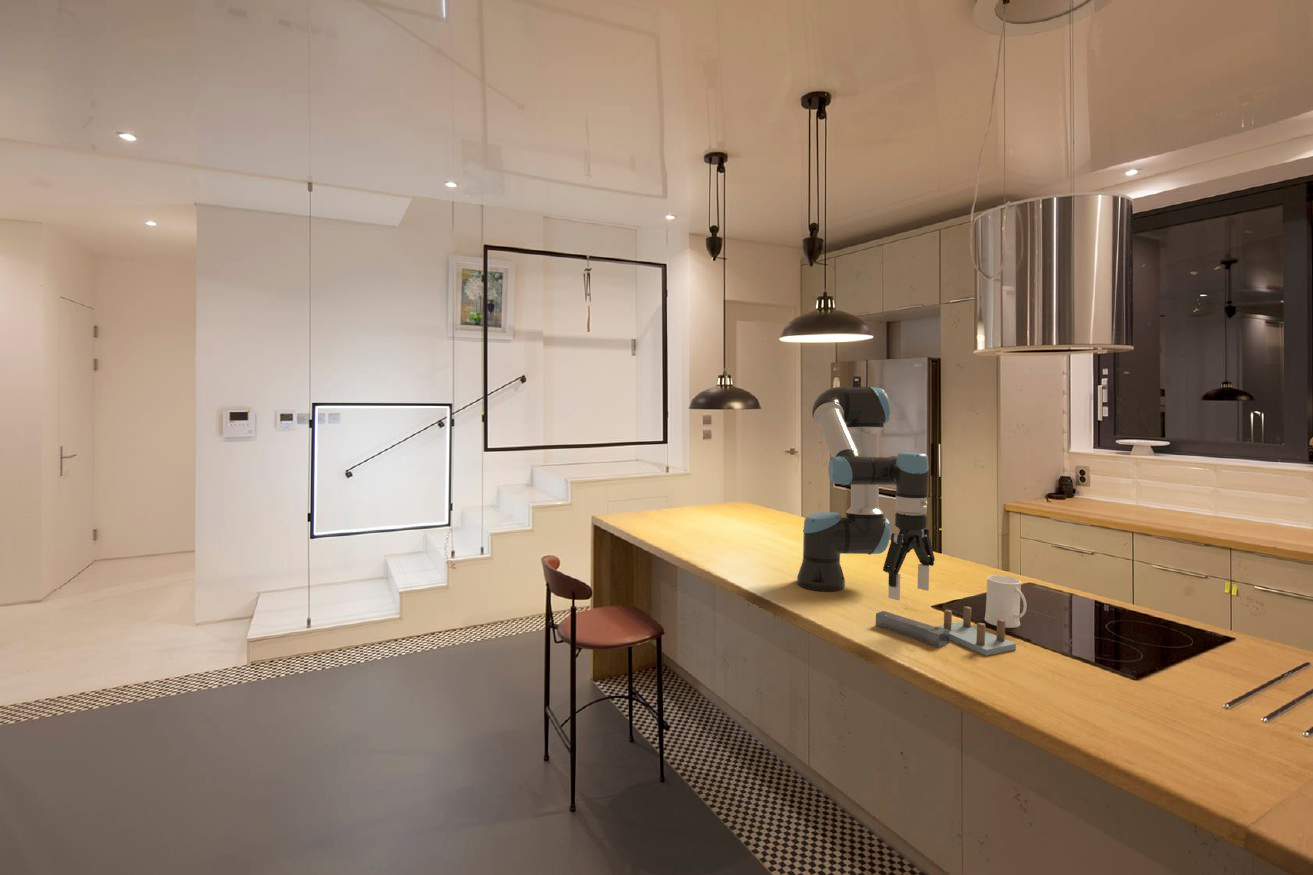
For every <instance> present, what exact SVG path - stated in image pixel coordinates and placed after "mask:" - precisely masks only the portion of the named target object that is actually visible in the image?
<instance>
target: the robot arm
mask: <svg viewBox="0 0 1313 875" xmlns="http://www.w3.org/2000/svg"><path fill="white" fill-rule="evenodd" d="M811 415H812V419H813V422H814V424H815V425H816V426H817V427H818V428H819V429H820V430H821V433H822V436H823V439H824V441H825V444H826V446H827V449H828V452H829V454H830V456H831V457H830V459H829V461H828V478H829V481H830V482H831V483H832V484H836V485H843V486H848V485H850V507H849V508H848V509H847V510H846V511H845V517H842V515H841V514H840V512H835V511H824V512H815V513H812V514H809V515H807V516H806V517H805V519H804V521H803V529H802V532H803V544H802V546H803V549H802V551H803V552H802V561H801V562H802V563H801V565H800V568H799V571H798V574H797V576H796V583H797V585H798V586H800V587H801V588H805V589H807V590H812V591H817V592H819V591H820V592H837V591H840V590H843V589H844V588H845V587H846V580H845V576H844V573H843V569H842V566H841V554H845V555H846V554H847V555H848V554H850V555H851V554H853V555H854V554H855V555H856V554H861V555H863V554H864V555H869V556H871V555H879V554H880V555H881V554H882V553H884V552H885V551H886V549H887V548H888V549H887V550H888V551H887V554H886V558H885V561H884V563H883V564H884V565H883V567H882V572H885V573H887V574H888V598H889V599H892V600H895V601H900V599H901V598H900V597H901V574H900V573H899V572H900V570H901V568H902V565H903V563H904V561H905V559H906V557H907V554H908V553H910V552H911V551H912V550H913V551H914V553H915V555H916V557H917V560H918V561H919V563H918V565H917V589H918V590H922V591H926V592H928V591H930V590H929V589H930V588H929V587H930V586H929V583H930V566H931V567H933V566H934V565H935V560H936V559H935V555H934V551H933V548H932V543H931V539H930V530H929V528H927V527H928V526H927V523H928V521H927V520H928V518H927V517H928V515H927V514H926V513H927V512H928V511H927V510H928V505H929V502H928V487H929V486H928V485H929V484H928V483H929V470H930V466H929V456H928V455H927V454H926V453H923V452H905V451H904V452H899V453H898V454H897V455H896V456H894V455H892V456H888V457H887V456H886V457H884V456H883V457H882V456H881V457H880V456H879V454H880V453H879V450H880V449H879V446H880V444H879V437H880V436H879V434H880V433H881V432H882V431H883V430H884V424H887V423H888V422H890V415H891V404H890V398H889V397H888V394H887V392H886V391H885V390H884V388H880V387H874V386H873V387H872V386H863V387H862V386H855V387H854V386H851V387H848V386H847V387H846V386H836V387H831V388H828V389H827V390H824V391H823V392H821V393H820V395H818V397H817V398H816V399H815V401H814V403H813V405H812V410H811ZM882 485H883V486H895V511H896V512H895V520H894V522H895V523H894V526H895V527H896V528H898V529H899V531H898V532H899V533H894V532H892V533H891V525H890V520H889V519H888V518H887V517H884V516H885V514H884V512H883V511H882V510H881V508H880V505H879V503H880V500H879V499H880V496H879V493H880V492H879V490H880V489H879V487H880V486H882ZM888 546H889V547H888Z"/></svg>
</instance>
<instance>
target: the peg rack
mask: <svg viewBox="0 0 1313 875" xmlns="http://www.w3.org/2000/svg"><path fill="white" fill-rule="evenodd" d="M952 615H953V611H952V610H950V609H944V612H943V624H941V625H936V626H935V625H934V627H941V628H945V629H948V630H950V633H949V641H951V642H953V643H955V644H956V643H957V644H958V645H961V646H962V647H966V648H968V649H970V650H972V651H974V652H976V653H979V654H981V655H983V656H985V657H987V656H991V655H996V654H1002V653H1006V652H1007V653H1008V652H1011V651H1015V650H1017V643H1015V642H1013V641H1011V640H1008V639H1006V638H1005V637H1006V628H1005V620H1002V619H997V626H996V635H995V634H993V633H992V632H988V631H986V623H983V622H977V623H976V626H975V625H972V624H971V623H972V607H971V606H963V613H962V615H963V617H962V621H957V622H953V623H952V621H953V620H952V618H953V616H952Z"/></svg>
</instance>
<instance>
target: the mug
mask: <svg viewBox="0 0 1313 875" xmlns="http://www.w3.org/2000/svg"><path fill="white" fill-rule="evenodd" d="M1021 590H1022V582H1021V580H1020V579H1017V578H1015V577H1011V576H1006V575H1000V574H999V575H998V574H993V575H988V576H987V579H986V598H985V599H986V601H985V615H984V621H985V622H986V623H988V624H990V625H992V626H995V627H997V619H1002V620H1005V629H1006V628H1008V629H1014V628H1019V627H1020V626H1021V622H1020V619H1021V618H1022V617H1023V616H1025V615H1026V612H1027V605H1028V604H1027V599H1026V598H1025V595H1024V593H1023V592H1022V591H1021ZM1021 600H1022V604H1023V609H1022V612H1021V613H1020V611H1021Z"/></svg>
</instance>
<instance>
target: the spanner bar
mask: <svg viewBox="0 0 1313 875" xmlns="http://www.w3.org/2000/svg"><path fill="white" fill-rule="evenodd" d="M875 627H878V628H879V629H884V630H887V631H888V632H893V633H895V634H899V635H901V636H904V637H908V638H910V639H914V640H917V641H919V642H920V641H921V642H923V643H925V644H927V645H929V646H931V647H933V648H937V649H940V648H943V647H945V646H947V645H948V644H950V640H949V633H950V630H948V629H945V628H941V627H935V625H930V624H927V623H923V622H921V621H918V620H915V619H911V618H908V617H904V616H902V615H899V614H894V613H892V612H888V611H885V610H882V611H879V612H877V613H875Z"/></svg>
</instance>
